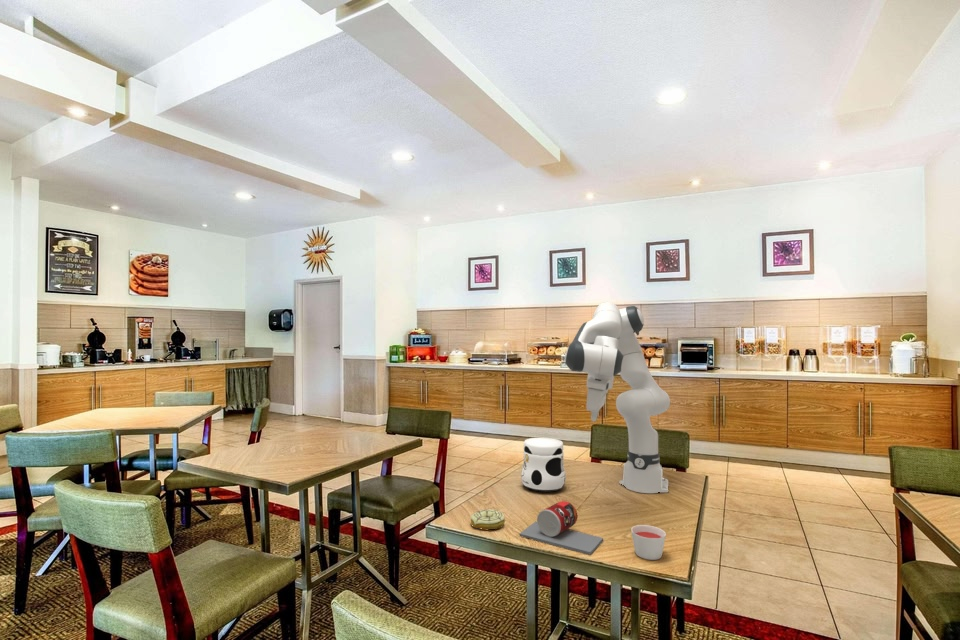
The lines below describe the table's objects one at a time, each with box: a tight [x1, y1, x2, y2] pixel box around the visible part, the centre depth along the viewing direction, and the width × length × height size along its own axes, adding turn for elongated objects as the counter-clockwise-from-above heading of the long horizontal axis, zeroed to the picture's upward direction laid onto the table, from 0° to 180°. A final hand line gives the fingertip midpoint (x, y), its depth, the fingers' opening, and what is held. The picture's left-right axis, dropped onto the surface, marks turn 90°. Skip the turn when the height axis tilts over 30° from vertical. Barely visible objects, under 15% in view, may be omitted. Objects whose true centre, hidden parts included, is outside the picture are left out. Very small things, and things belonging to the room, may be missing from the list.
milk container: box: [520, 437, 567, 493], centre depth 188 cm, size 17×17×18 cm
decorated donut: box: [470, 508, 506, 530], centre depth 151 cm, size 10×11×4 cm
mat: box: [518, 520, 604, 556], centre depth 142 cm, size 11×22×1 cm, turn 58°
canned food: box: [536, 500, 578, 537], centre depth 145 cm, size 8×8×11 cm
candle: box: [630, 524, 667, 561], centre depth 132 cm, size 9×9×6 cm
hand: (593, 420), depth 167 cm, fingers closed
